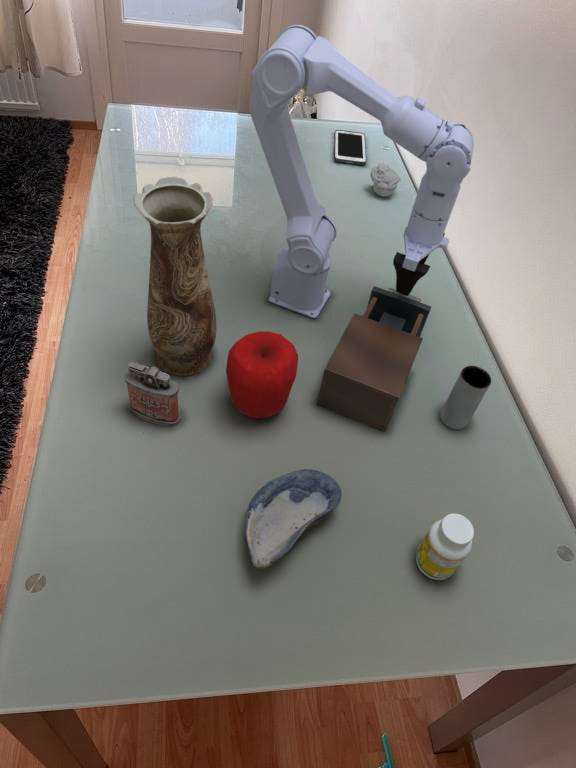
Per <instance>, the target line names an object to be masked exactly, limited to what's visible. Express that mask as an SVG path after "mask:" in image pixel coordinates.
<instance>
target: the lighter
mask: <svg viewBox="0 0 576 768" xmlns="http://www.w3.org/2000/svg"><path fill="white" fill-rule="evenodd" d="M170 377H171V376H170V374H168V373H167V372H162V370H160V368H159V367H157V366H153V365H152V366H151V367H149V366H145V365H142V364H139V363H137V362H135V361H134V362H133V361H131V362H129V363H128V364H127V371H126V372H125V373H124V382H125V384H126V387H127V388H126V389H127V393H128V399H129V400H128V401H129V404H128V407H129V411H130V413H131V414H133V415H135V416H137V417H139V419H142V420H144V421H147V422H149V423H153V424H155V425H160V426H166V427H175V426H177V425H178V424H179V423H180V422H181V412H180V409H179V407H180V406H179V391H180V387H179V384H178V382H176V381H175V380H173V379H171V378H170Z"/></svg>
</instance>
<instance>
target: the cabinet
mask: <svg viewBox="0 0 576 768" xmlns="http://www.w3.org/2000/svg"><path fill="white" fill-rule="evenodd" d="M422 343H423V337H421V336H420V337H418V336H415V335H413V334H410V333H407V332H405V331H402V330H399V329H396V328H394V327H391V326H388V325H385V324H383V323H380V322H377V321H375V320H372V319H369V318H366V317H364V316H363V315H361V314H358V313H356V312H355V313H353V315H352V317H351V319H350V321H349V323H348V324H347V326H346V328H345V330H344V331H343V333H342V336H341V337H340V339H339V341H338V343H337V345H336V347H335V348H334V350H333V352H332V354H331V355H330V358H329V359H328V362H327V363H326V365H325V367H324V368H323V369H324V370H323V374H322V379H321V383H320V387H319V390H318V396H317V399H316V400H317V401H316V405H318V406H320V407H323V408H325V409H327V410H330V411H331V412H334V413H337V414H340V415H342V416H344V417H347V418H350V419H352V420H355V421H357V422H360V423H362V424H365V425H367V426H370V427H372V428H374V429H377V430H380V431H382V432H384V433H386V432H387V429H388V428H389V425H390V422H391V419H392V417H393V415H394V412H395V411H396V410H395V409H396V407H397V406H398V402H399V400H400V398H401V395H402V392H403V389H404V387H405V385H406V382H407V380H408V377H409V375H410V372H411V369H412V367H413V364H414V363H415V359H416V357H417V354H418V352H419V350H420V347H421V345H422Z"/></svg>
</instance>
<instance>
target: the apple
mask: <svg viewBox="0 0 576 768" xmlns="http://www.w3.org/2000/svg"><path fill="white" fill-rule="evenodd" d="M298 364H299V354H298V352H297V349H296V347H295V345H294V344H293V343H292V342H291V341H290V340H288V339H287V338H286V337H285V336H284V335H282V333H277V332H273V331H256V332H251V333H248V334H245V335H244V336H242V337H241V338H240V339H238V340H237V341H235V342H234V343H233V345H232V346H231V348H230V349H229V350H228V353H227V358H226V365H225V366H226V368H225V374H226V379H227V385H228V390H229V395H230V399H231V402H232V404H233V407H234V408H235V409H237V411H239V412H240V413H241V414H243V415H246V416H248V417H250V418H255V419H256V418H258V419H265V418H268V417H272V416H275V415H277V414H278V413H280V412H282V411H283V409H284V407H285V406H286V403H287V402H288V399H289V396H290V393H291V391H292V388H293V385H294V382H295V380H296V378H297V374H298V373H297V372H298Z"/></svg>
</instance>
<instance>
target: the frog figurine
mask: <svg viewBox="0 0 576 768" xmlns="http://www.w3.org/2000/svg"><path fill="white" fill-rule="evenodd" d="M369 176H370V178H371V181H372V182H373V185H372V186H373V190H374V192H375V193H376V195H378V196H379V197H384V198H385V197H388V196H391V195H392V194H393V193H394V192H395V190H397V187H398V183H400V182H401V181H402V180H401V177H400V175H399V173H397V172H396V171H395V170H394V169H392V168H391V167H390V165H388V164H385V163H384V162H380V163H378V165H376V166H374V167H371V169H370V174H369Z"/></svg>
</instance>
